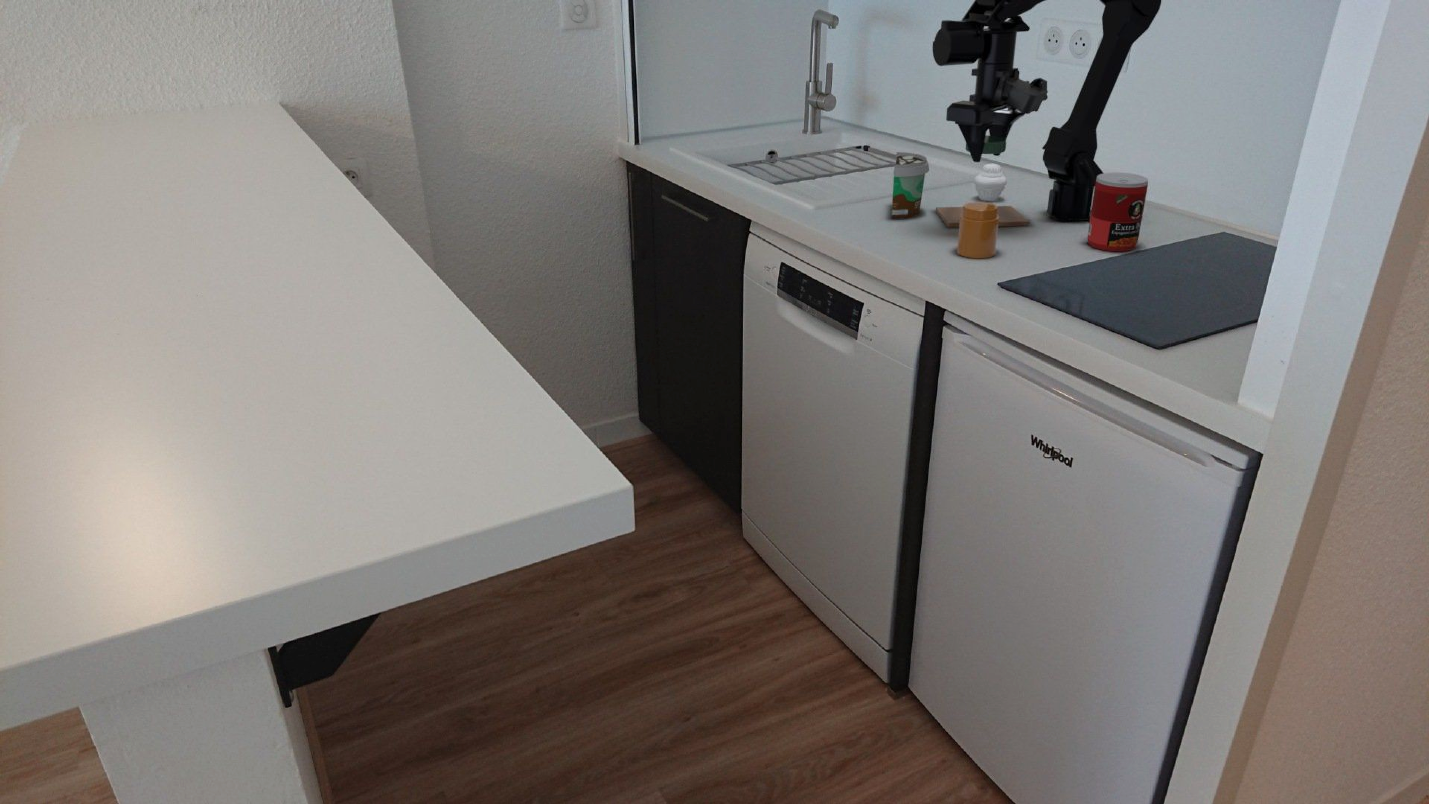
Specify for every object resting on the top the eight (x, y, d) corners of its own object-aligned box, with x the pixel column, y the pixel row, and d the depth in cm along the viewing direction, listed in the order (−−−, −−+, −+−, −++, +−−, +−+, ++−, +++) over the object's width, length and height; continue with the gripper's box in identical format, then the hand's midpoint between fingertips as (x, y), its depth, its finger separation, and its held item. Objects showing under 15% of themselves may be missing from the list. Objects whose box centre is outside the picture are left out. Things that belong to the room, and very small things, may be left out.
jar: (990, 247, 156) (995, 201, 153) (999, 257, 151) (1004, 210, 148) (953, 247, 156) (957, 201, 153) (961, 258, 151) (965, 211, 148)
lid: (970, 154, 159) (972, 143, 158) (961, 147, 165) (962, 135, 164) (1009, 153, 159) (1011, 141, 158) (999, 145, 165) (1000, 134, 164)
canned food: (1111, 254, 151) (1123, 185, 146) (1075, 241, 158) (1085, 175, 153) (1148, 248, 154) (1160, 179, 149) (1111, 236, 160) (1122, 170, 156)
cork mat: (1010, 210, 177) (1011, 205, 177) (1027, 225, 167) (1028, 221, 167) (935, 211, 177) (935, 207, 177) (948, 227, 167) (948, 222, 167)
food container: (925, 222, 171) (930, 165, 167) (891, 220, 172) (894, 165, 168) (926, 205, 182) (930, 152, 177) (893, 204, 183) (896, 151, 179)
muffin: (1011, 200, 183) (1015, 164, 180) (985, 204, 181) (989, 167, 178) (991, 194, 188) (995, 158, 185) (965, 197, 186) (969, 161, 183)
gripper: (1012, 71, 144) (1001, 174, 151) (1069, 59, 156) (1057, 155, 163) (948, 67, 151) (940, 165, 158) (1007, 55, 163) (998, 147, 170)
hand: (986, 158), depth 162 cm, fingers closed on lid, 6 cm apart
